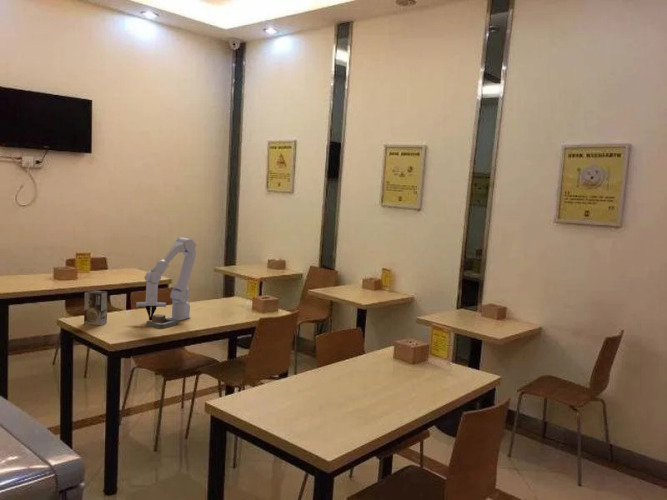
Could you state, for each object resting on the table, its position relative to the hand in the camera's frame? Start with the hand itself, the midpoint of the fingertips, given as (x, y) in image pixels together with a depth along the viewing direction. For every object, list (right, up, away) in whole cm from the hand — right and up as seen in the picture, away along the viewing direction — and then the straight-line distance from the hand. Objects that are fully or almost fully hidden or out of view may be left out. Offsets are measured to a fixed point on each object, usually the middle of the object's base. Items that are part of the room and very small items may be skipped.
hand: (150, 320), depth 284 cm
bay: (+7, -2, -3) cm, 8 cm away
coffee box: (-24, 0, -11) cm, 26 cm away
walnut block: (+4, -1, -1) cm, 5 cm away
